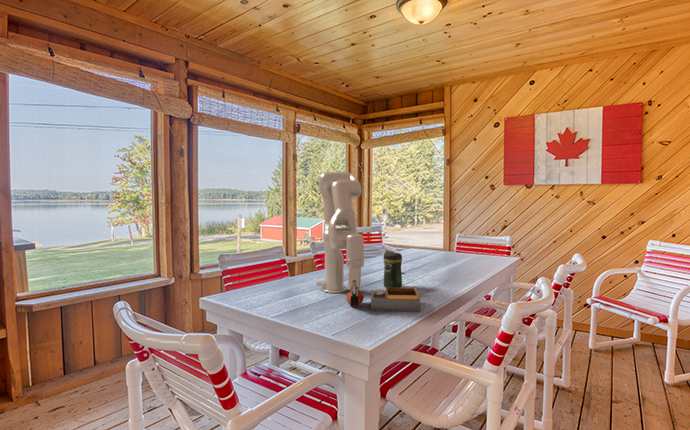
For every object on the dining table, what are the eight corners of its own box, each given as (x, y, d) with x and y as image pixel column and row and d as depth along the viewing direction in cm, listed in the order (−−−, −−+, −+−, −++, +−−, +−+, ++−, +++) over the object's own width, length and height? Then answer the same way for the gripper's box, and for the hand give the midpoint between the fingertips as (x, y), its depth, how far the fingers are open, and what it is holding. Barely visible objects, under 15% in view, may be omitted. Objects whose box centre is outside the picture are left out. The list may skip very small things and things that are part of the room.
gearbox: (371, 310, 144) (371, 295, 143) (371, 301, 158) (371, 286, 157) (420, 311, 142) (420, 296, 142) (415, 301, 156) (416, 287, 156)
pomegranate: (349, 307, 155) (340, 298, 148) (355, 293, 158) (347, 283, 151) (363, 312, 151) (354, 303, 144) (369, 297, 154) (361, 287, 147)
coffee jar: (404, 287, 181) (404, 252, 180) (394, 290, 176) (394, 254, 176) (391, 284, 189) (391, 250, 188) (380, 286, 184) (380, 251, 183)
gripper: (347, 259, 159) (348, 296, 160) (344, 266, 142) (344, 307, 143) (364, 259, 159) (364, 296, 160) (362, 266, 142) (363, 308, 142)
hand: (355, 301), depth 151 cm, fingers open, 8 cm apart
